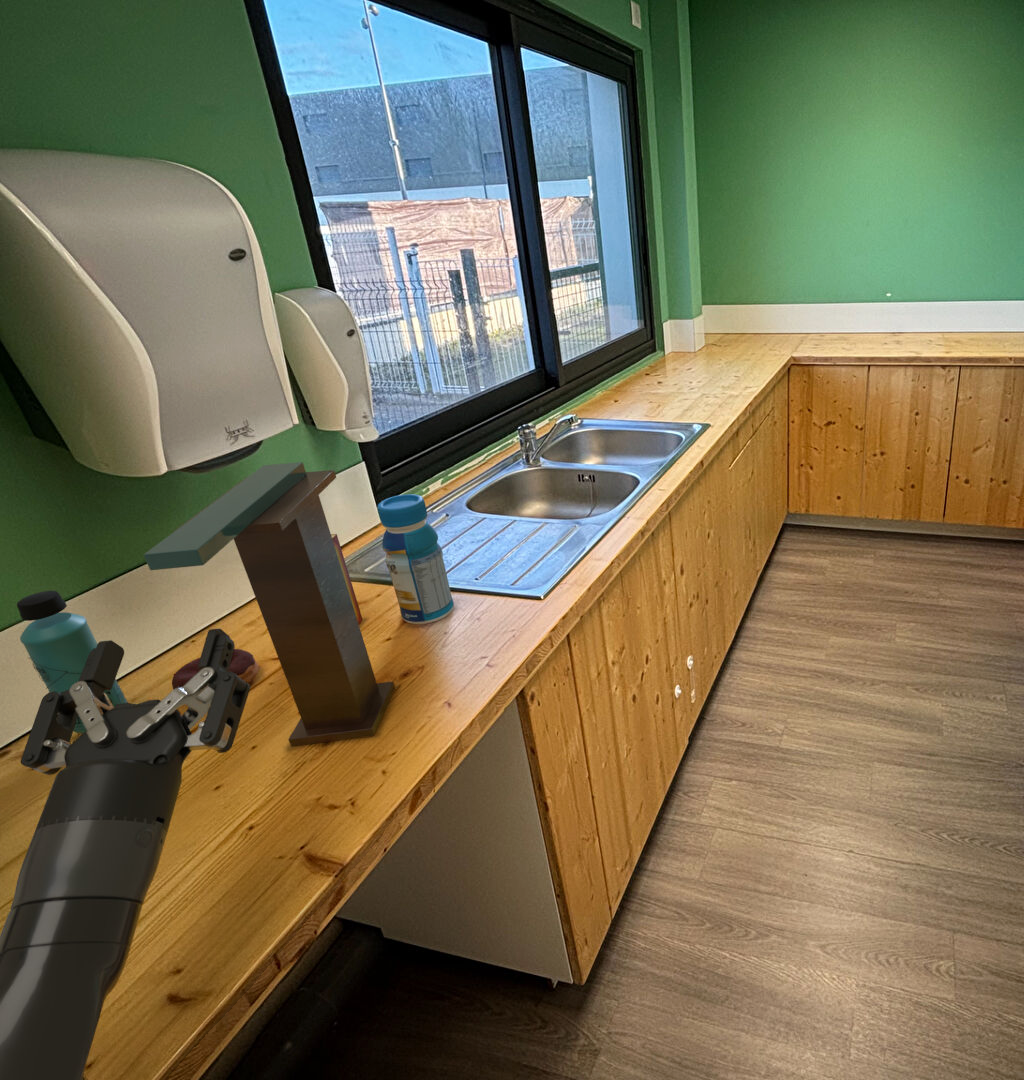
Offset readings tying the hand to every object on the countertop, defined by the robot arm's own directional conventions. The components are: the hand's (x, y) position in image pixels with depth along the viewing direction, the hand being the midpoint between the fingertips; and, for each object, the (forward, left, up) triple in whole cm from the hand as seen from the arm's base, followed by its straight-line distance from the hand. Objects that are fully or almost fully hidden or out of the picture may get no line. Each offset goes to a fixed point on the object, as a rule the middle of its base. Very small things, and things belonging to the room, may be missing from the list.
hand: (167, 638), depth 60 cm
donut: (-33, +23, -28) cm, 49 cm away
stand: (-9, +20, -28) cm, 35 cm away
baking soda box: (-27, +37, -28) cm, 53 cm away
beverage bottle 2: (-16, +47, -28) cm, 56 cm away
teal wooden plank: (-7, +15, +5) cm, 17 cm away
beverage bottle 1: (-40, +12, -28) cm, 50 cm away
